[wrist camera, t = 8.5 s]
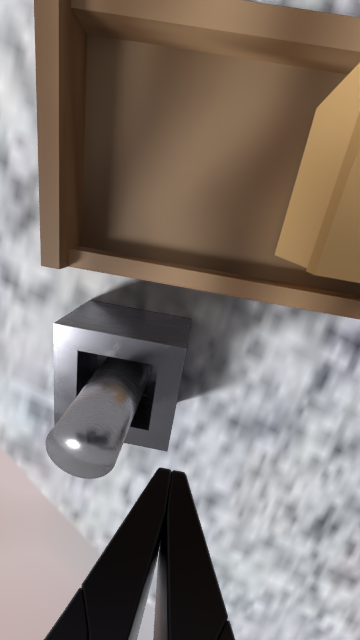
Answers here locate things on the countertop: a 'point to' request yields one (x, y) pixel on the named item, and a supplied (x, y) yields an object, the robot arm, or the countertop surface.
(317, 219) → the tan cardboard box
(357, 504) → the countertop surface
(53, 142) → the bay
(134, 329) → the square hollow tube
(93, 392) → the rounded metal peg
